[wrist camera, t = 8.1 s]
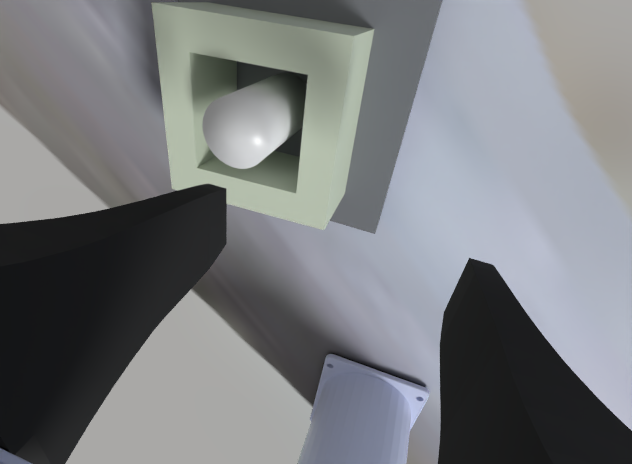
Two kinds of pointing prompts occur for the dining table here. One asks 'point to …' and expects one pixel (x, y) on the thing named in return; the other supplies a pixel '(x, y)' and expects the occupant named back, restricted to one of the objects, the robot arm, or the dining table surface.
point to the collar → (221, 79)
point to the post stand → (290, 93)
